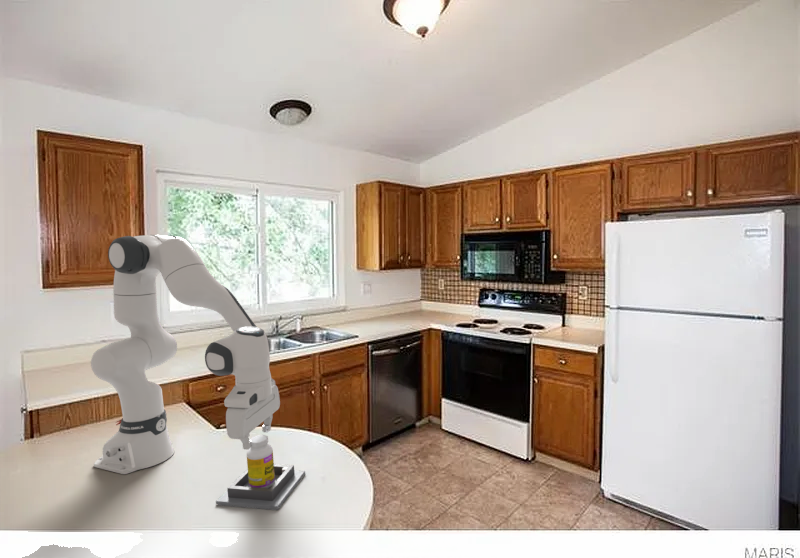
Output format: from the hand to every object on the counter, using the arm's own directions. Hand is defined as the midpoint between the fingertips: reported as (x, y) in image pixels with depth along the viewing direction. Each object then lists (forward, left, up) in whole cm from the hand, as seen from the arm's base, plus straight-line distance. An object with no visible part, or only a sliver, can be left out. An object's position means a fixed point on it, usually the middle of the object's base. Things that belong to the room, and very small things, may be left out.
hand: (257, 439), depth 111 cm
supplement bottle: (0, 0, -13) cm, 13 cm away
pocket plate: (0, 0, -14) cm, 14 cm away
